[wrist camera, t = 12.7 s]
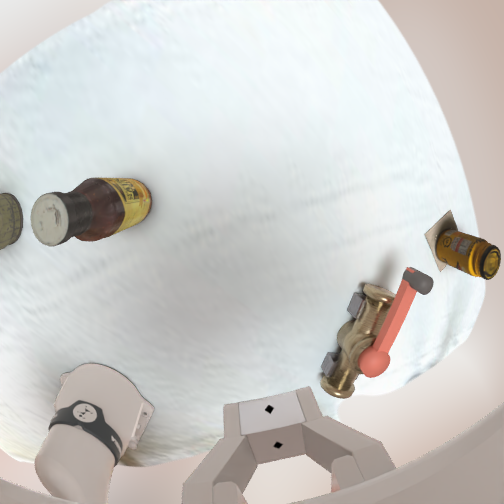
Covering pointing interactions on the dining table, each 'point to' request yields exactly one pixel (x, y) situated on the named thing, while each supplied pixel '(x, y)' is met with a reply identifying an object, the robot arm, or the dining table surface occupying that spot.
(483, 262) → the condiment
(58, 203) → the sauce bottle
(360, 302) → the valve body
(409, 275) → the lever
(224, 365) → the dining table surface
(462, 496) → the robot arm
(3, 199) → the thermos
